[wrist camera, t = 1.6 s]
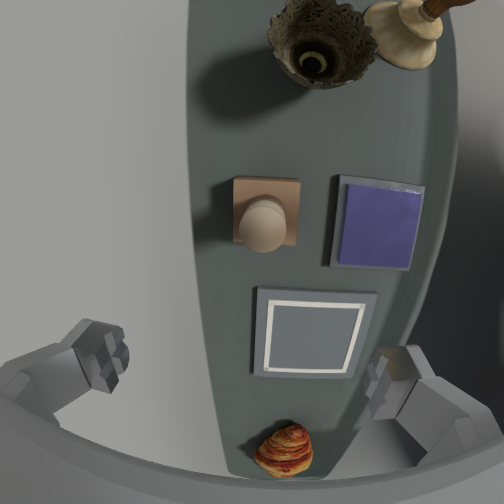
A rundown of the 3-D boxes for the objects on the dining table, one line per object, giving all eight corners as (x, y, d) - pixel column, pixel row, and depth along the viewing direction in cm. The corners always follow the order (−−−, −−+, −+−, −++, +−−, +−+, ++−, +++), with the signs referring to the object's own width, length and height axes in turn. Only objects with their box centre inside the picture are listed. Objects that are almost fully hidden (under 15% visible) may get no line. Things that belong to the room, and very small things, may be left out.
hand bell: (366, 62, 20) (453, -7, 6) (358, -5, 17) (412, -94, 3) (438, 78, 20) (548, 53, 5) (428, 13, 17) (512, -41, 2)
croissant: (288, 454, 49) (305, 481, 42) (245, 469, 45) (260, 499, 38) (312, 401, 40) (339, 436, 34) (255, 420, 37) (279, 462, 30)
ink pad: (338, 174, 25) (342, 176, 23) (421, 185, 24) (428, 188, 23) (328, 263, 28) (330, 270, 27) (406, 267, 27) (411, 274, 26)
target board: (257, 285, 30) (257, 289, 29) (376, 291, 29) (378, 294, 28) (253, 372, 35) (253, 376, 34) (351, 375, 34) (352, 378, 33)
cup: (319, 117, 23) (336, 107, 16) (254, 70, 22) (244, 41, 14) (365, 65, 20) (397, 40, 13) (303, 19, 19) (311, -22, 12)
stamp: (238, 175, 26) (222, 188, 18) (298, 178, 25) (306, 193, 18) (237, 231, 28) (222, 265, 20) (294, 234, 27) (299, 270, 20)
